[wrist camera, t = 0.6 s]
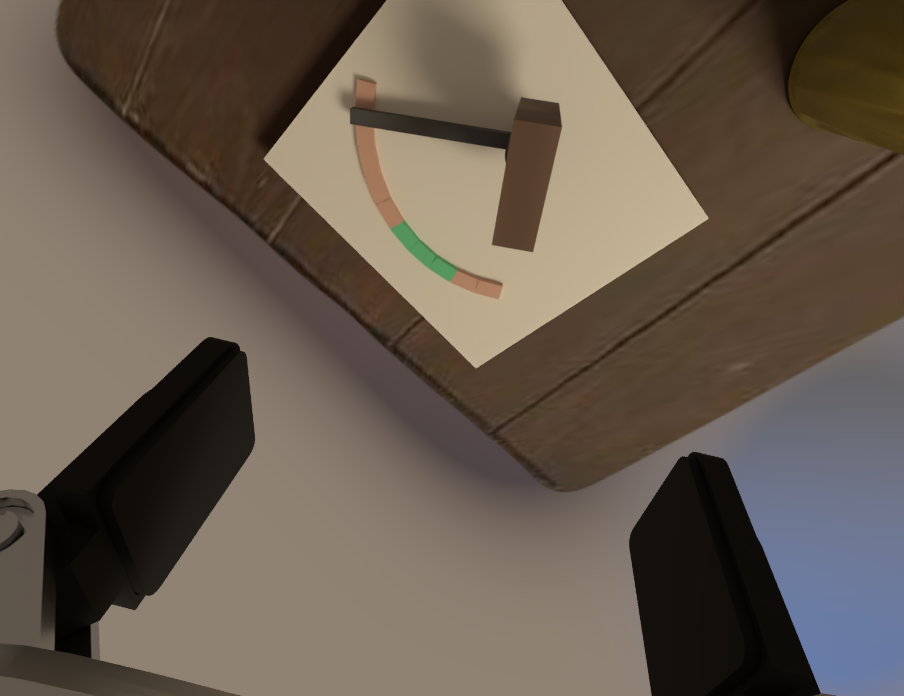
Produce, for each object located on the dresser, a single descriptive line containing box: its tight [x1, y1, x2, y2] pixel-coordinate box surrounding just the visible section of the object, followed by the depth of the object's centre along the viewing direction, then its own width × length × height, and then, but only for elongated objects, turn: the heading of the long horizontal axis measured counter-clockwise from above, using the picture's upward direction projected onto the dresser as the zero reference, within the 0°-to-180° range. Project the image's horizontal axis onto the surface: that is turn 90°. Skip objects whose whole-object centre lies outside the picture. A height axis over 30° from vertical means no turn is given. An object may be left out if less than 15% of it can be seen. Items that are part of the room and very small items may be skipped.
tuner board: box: [264, 0, 709, 368], centre depth 29 cm, size 18×20×2 cm
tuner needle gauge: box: [350, 97, 562, 252], centre depth 23 cm, size 11×5×9 cm, turn 83°
